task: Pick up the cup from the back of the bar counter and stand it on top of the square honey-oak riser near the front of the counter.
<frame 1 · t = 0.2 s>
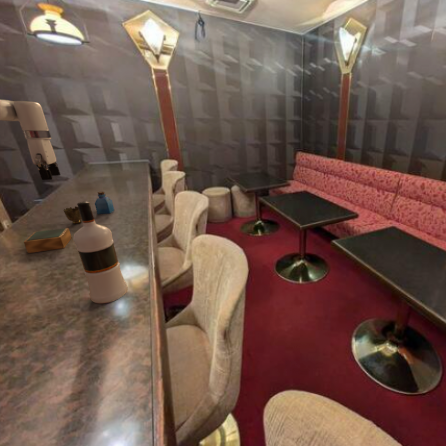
hand: (51, 177, 105), 27 cm above the bar counter, tool pointing down, fingers open, 9 cm apart
cup: (77, 223, 128), on the bar counter
perfume bottle: (106, 212, 145), on the bar counter
riser: (51, 245, 105), on the bar counter
vodka: (110, 295, 76), on the bar counter
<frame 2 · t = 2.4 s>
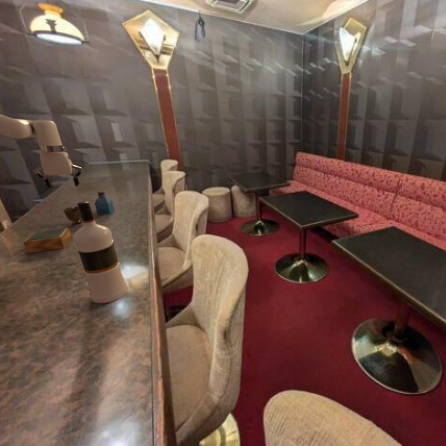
hand: (64, 186, 118), 20 cm above the bar counter, tool pointing down, fingers open, 9 cm apart
nothing on the bar counter moved.
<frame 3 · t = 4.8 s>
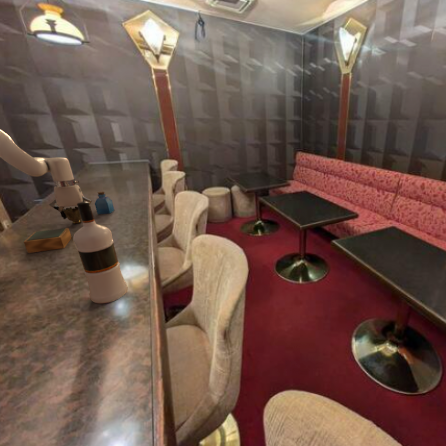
hand: (75, 217, 127), 3 cm above the bar counter, tool pointing down, fingers closed on cup, 7 cm apart
cup: (77, 223, 128), on the bar counter, touching gripper
everything else where it was.
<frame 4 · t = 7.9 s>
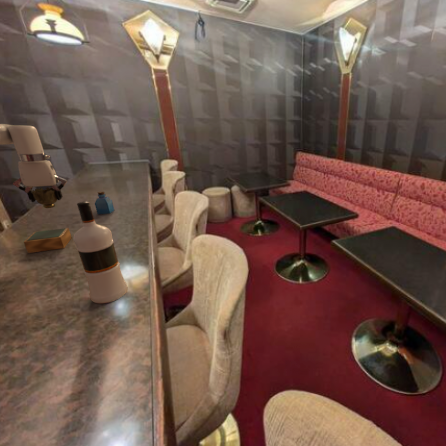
hand: (47, 200, 105), 18 cm above the bar counter, tool pointing down, fingers closed on cup, 7 cm apart
cup: (49, 207, 107), point 14 cm above the bar counter, touching gripper
everything else where it was.
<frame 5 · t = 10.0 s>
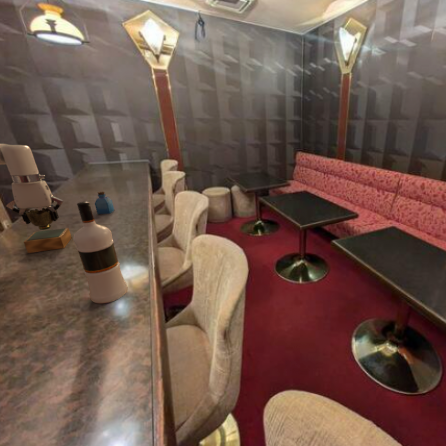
hand: (42, 221, 101), 11 cm above the bar counter, tool pointing down, fingers closed on cup, 7 cm apart
cup: (45, 229, 102), point 7 cm above the bar counter, touching gripper
everything else where it was.
when the fingers open (9 cm above the bar counter, at t = 11.3 s): cup stays where it is, resting on riser.
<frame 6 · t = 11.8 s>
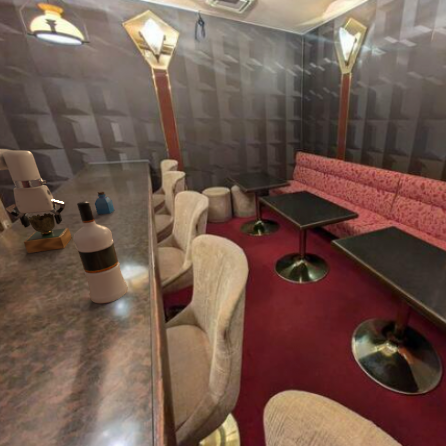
hand: (43, 224, 101), 9 cm above the bar counter, tool pointing down, fingers open, 9 cm apart
cup: (47, 234, 103), point 5 cm above the bar counter, touching riser
everything else where it was.
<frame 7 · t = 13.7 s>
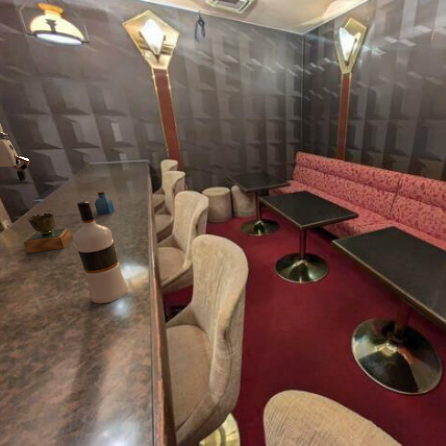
hand: (6, 180, 100), 26 cm above the bar counter, tool pointing down, fingers open, 9 cm apart
nothing on the bar counter moved.
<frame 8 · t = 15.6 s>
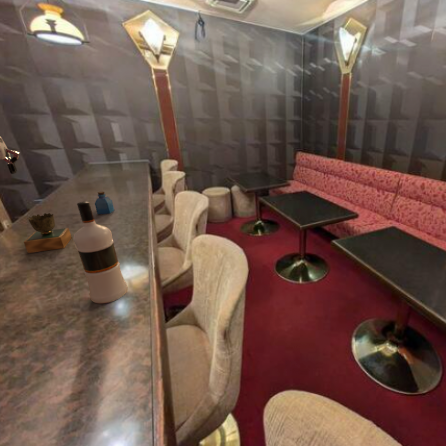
nothing on the bar counter moved.
at the end: cup inside the target area on the riser (0.1 cm from its centre), point 5.0 cm above the riser's base; cup tilted 0°; the gripper is holding nothing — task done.
